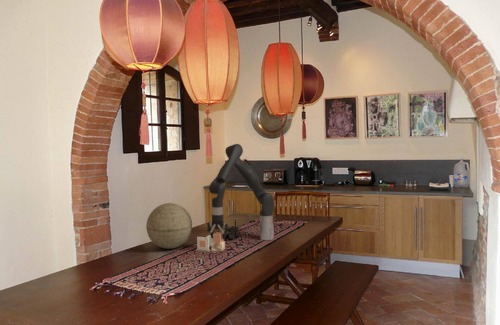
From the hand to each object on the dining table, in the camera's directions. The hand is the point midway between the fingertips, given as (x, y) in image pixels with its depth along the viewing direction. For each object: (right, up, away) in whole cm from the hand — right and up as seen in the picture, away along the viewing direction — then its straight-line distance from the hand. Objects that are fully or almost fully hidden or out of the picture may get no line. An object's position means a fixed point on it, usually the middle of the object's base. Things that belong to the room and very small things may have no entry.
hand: (218, 238), depth 265 cm
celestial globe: (-33, -8, +7) cm, 34 cm away
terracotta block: (0, -3, 0) cm, 3 cm away
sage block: (-6, -7, +13) cm, 16 cm away
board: (-9, -8, -3) cm, 12 cm away
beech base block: (0, -8, 0) cm, 8 cm away
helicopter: (+8, -6, +39) cm, 40 cm away
